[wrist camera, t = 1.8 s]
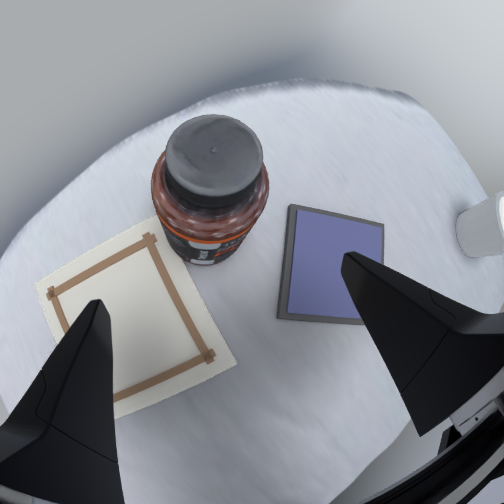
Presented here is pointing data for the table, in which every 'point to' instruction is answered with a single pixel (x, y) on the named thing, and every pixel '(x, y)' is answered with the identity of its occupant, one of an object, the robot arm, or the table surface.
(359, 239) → the ink pad
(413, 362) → the robot arm
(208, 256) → the supplement bottle
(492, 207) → the white short cylinder
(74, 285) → the marked sheet
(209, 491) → the table surface
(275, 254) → the table surface
